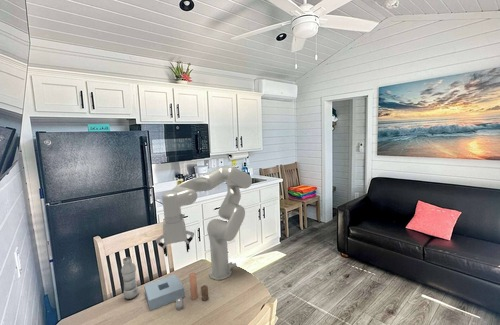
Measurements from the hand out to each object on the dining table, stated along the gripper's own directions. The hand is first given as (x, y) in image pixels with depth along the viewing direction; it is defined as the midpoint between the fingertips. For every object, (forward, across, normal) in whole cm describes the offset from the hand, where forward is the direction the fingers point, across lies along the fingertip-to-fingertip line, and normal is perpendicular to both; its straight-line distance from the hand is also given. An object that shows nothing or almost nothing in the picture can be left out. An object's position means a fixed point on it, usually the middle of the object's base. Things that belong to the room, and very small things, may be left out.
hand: (177, 252), depth 117 cm
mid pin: (+24, -11, +4) cm, 27 cm away
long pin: (+24, -6, +1) cm, 25 cm away
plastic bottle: (+24, +24, -10) cm, 35 cm away
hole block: (+24, +8, -5) cm, 26 cm away
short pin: (+24, +1, +6) cm, 25 cm away
